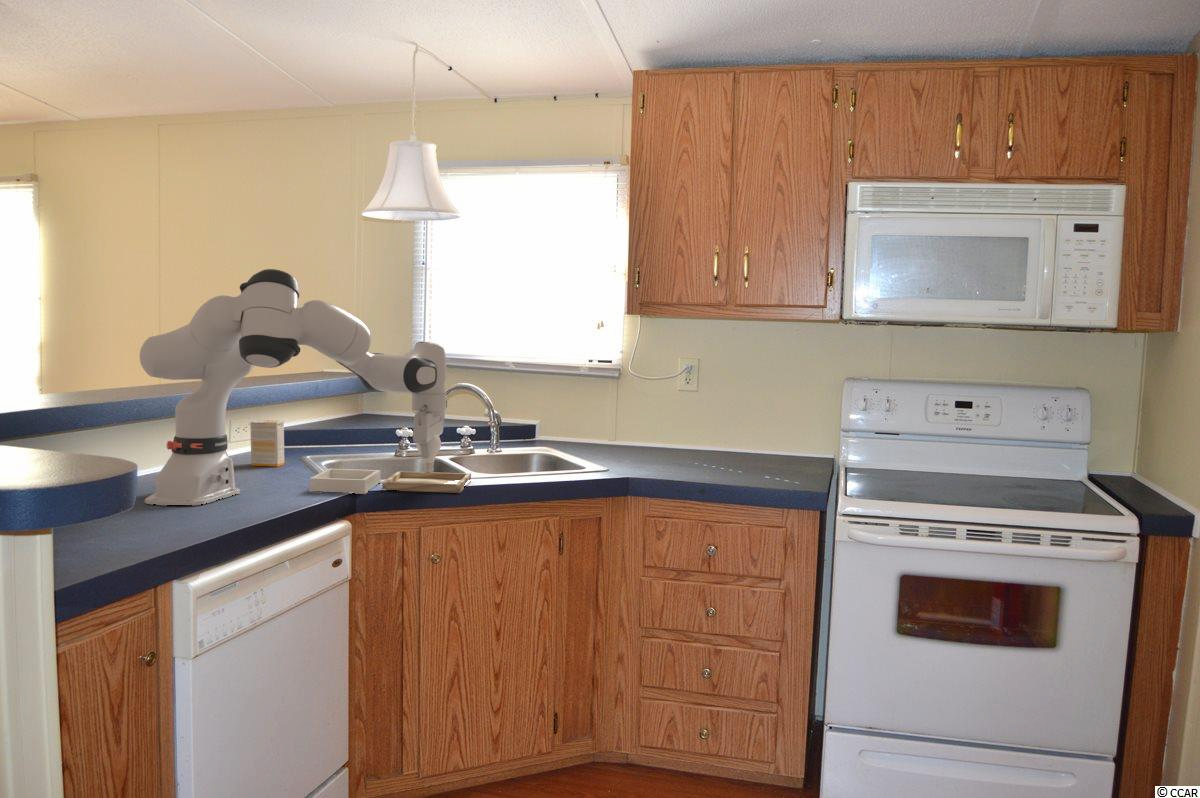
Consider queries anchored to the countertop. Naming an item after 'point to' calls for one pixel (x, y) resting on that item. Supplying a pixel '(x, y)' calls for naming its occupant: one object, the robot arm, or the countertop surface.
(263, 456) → the supplement box
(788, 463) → the countertop surface
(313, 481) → the shallow white dish
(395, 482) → the tray
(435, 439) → the lightbulb
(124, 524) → the countertop surface
